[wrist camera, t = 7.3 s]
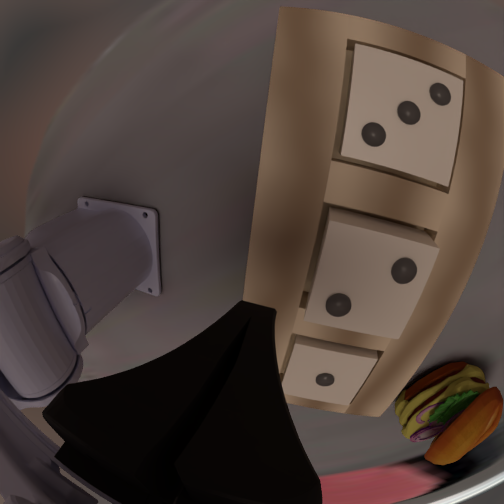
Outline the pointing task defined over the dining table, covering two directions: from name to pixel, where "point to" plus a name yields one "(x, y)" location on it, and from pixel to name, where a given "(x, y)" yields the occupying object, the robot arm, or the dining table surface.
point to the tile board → (363, 190)
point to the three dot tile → (401, 114)
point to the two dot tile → (369, 274)
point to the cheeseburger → (450, 411)
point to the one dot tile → (326, 370)
